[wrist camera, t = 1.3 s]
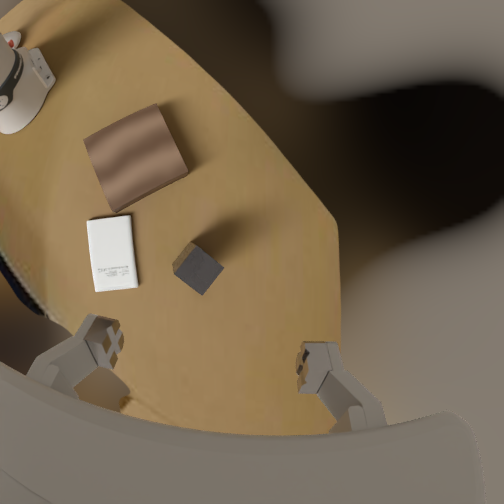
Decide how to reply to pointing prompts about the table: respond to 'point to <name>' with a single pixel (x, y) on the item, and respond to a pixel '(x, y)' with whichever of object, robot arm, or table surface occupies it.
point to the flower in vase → (13, 38)
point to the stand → (135, 157)
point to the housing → (196, 268)
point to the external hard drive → (112, 253)
